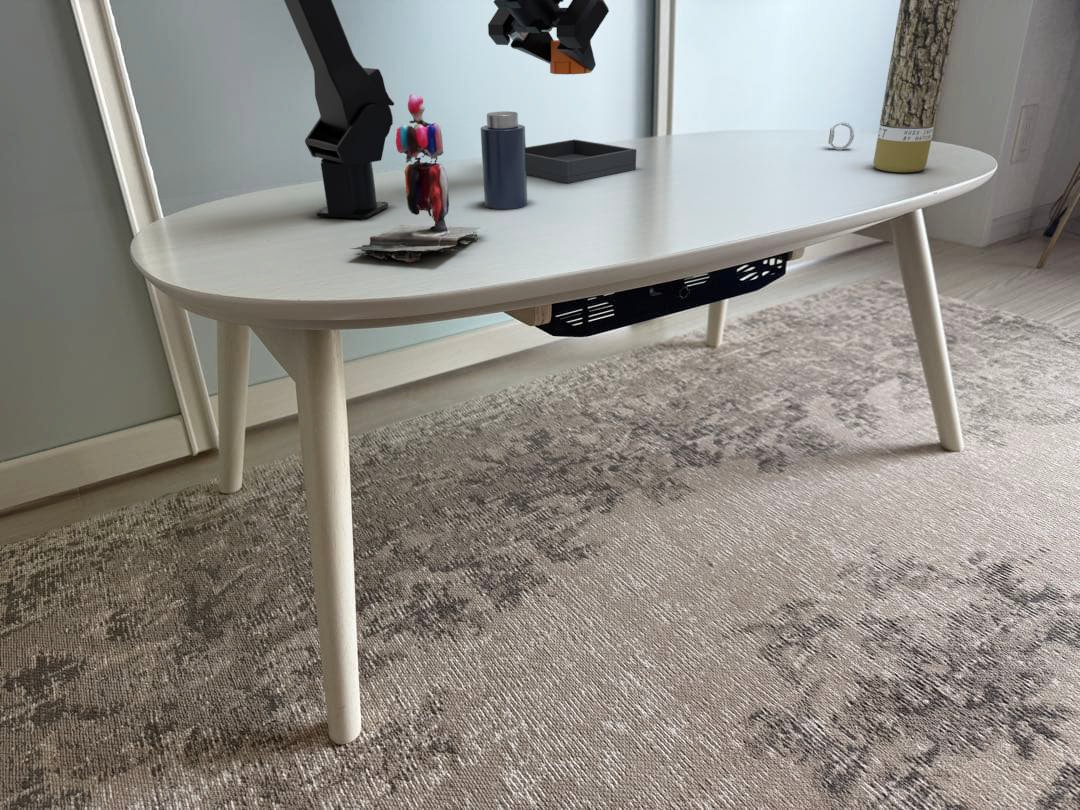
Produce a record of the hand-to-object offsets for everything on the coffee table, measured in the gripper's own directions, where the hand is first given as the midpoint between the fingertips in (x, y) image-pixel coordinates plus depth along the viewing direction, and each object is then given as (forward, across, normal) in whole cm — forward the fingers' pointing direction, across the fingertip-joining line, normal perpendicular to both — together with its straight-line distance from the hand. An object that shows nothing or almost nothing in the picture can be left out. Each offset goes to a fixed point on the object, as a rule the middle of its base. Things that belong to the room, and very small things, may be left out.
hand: (578, 67), depth 108 cm
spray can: (-5, -10, +25) cm, 27 cm away
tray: (+9, 0, +11) cm, 14 cm away
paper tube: (+31, -33, -12) cm, 47 cm away
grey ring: (+37, -19, -17) cm, 45 cm away
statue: (-18, -19, +38) cm, 46 cm away
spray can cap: (-1, 0, +1) cm, 2 cm away
